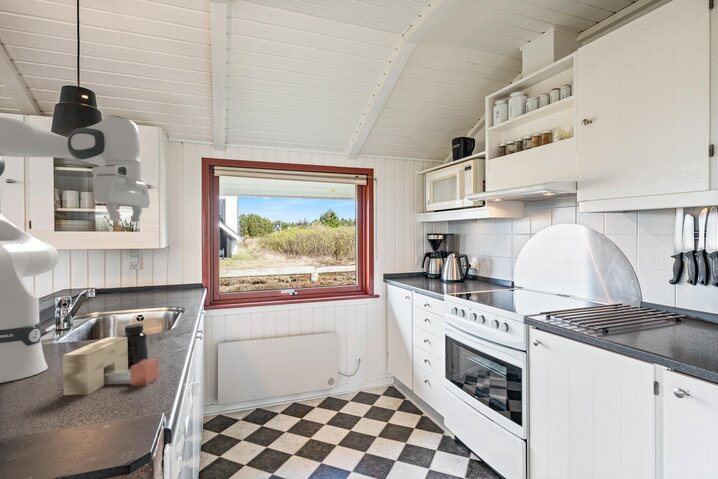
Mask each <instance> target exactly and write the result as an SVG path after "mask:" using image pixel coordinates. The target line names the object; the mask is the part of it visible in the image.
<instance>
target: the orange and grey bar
mask: <svg viewBox="0 0 718 479" xmlns="http://www.w3.org/2000/svg"><path fill="white" fill-rule="evenodd" d="M157 378H159V358H148V359H143V360H141V361H140V362H138V363H136V364H134V365H133V366H131V368H128V369H127V370H104V385H119V384H120V385H124V384H125V385H127V384H130V386H131V387H134V386H139V387H140V386H148V385H149V384H150V383H152V382H153V381H154V380H156V379H157Z"/></svg>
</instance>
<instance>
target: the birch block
mask: <svg viewBox="0 0 718 479" xmlns="http://www.w3.org/2000/svg"><path fill="white" fill-rule="evenodd" d="M62 369H63V370H62V373H63V374H62V376H63V378H62V381H63V396H82V395H83V396H84V395H85V396H86V395H90V394H92V393H93V392H95V391H97V390H99V389H100V388H102V387H105V384H104V370H127V369H129V368H128V345H127V337H123V336H120V337H119V336H116V337H115V336H113V337H108V336H107V337H105V338H102V339H99V340H97V341H95V342H91V343H89V344H87V345H85V346H82V347H80V348H77V349H74V350H72V351H70V352H67V353H65V354H62Z"/></svg>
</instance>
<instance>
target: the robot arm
mask: <svg viewBox="0 0 718 479" xmlns="http://www.w3.org/2000/svg"><path fill="white" fill-rule="evenodd" d="M140 138H141V137H140V132H139V128H138V126H137V124H136V122H134V121H132V120H130V119H128V118H126V117H123V116H120V115H114V114H113V115H106V116H105V117H104V118H103V119H102V120H101V121H100V122H97V123H95V124H93V125H90V126H86V127H78V128H75V129H73V130H72V131H71V133H70V134H69V135H68V137H67V136H64V135H60V134H57V133H55V132H52V131H49V130H47V129H45V128H43V127H39V126H37V125H34V124H32V123H29V122H27V121H24V120H20V119H16V118H12V117H6V116H0V177H1V176H2V175H3V174H4V171H5V169H6V161H5V159H4V158H3V157H9V158H10V157H13V158H58V159H59V158H61V159H63V158H64V159H68V160H70V159H71V160H78V161H81V162H85V163H88V164H91V165H95V166H93V167H92V169H91V170H92V171H91V172H92V173H91V174H92V175H93V176H94V177H93V179H92V180H93V181H92V189H93V197H94V199H95V201H96V203H101V204H105V209H106V210H107V212H108V214H109V220H110V221H112V222H113V221H116V222H117V221H120V220H121V219H120V213H118V210H117V208H118V206H121V207H127V208H129V207H130V208H131V210H132V215H130V222H131V223H139V222H140V221H141V220H140V216H141V214H142V209H147V208H149V207H150V200H151V199H150V194H149V189H148V186H147V184H146V183H145V181H144V179H143V177H142V162H141V159H140V153H141V140H140ZM59 258H60V257H59V251H58V250H57V248H56V247H55V246H54V245H52V244H50V243H48V242H45V241H43V240H40V239H38V238H36V237H34V236H33V235H31V234H30V233H28V232H27V231H25V230H23V229H22V228H20V227H19V226H17V225H16V224H14V223H13V222H11V221H10V220H9V219H8V218H6V217H5V215H3V214H2V213H1V212H0V384H2V383H6V382H11V381H17V380H21V379H25V378H28V377H32V376H34V375H37V374H40V373H43V372H44V371H46V370H47V369H49V368H48V364H47V362H46V358H45V356H44V351H43V345H42V340H41V337H42V332H43V327H42V322H41V321H40V299H39V296H38V295H37V294H36V293H34V292H32V291H30V290H29V289H28V288H27V286H26V285H25V281H24V279H23V278H25V277H34V276H38V275H41V274H44V273H47V272H50V271H52V270H53V269H54V268H55V267H56V266H57V265H58V262H59Z"/></svg>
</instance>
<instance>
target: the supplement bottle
mask: <svg viewBox="0 0 718 479" xmlns="http://www.w3.org/2000/svg"><path fill="white" fill-rule="evenodd" d="M122 337H127V345H128V369H131V366H133V365H134V364H136V363H138V362H140V361H141V360H143V359H149V350H148V349H149V348H148V346H149V345H148V334H147V333H145V332H144V325H143V324H142V323H133V324H129V325H126V326H124V335H123V336H122Z"/></svg>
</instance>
